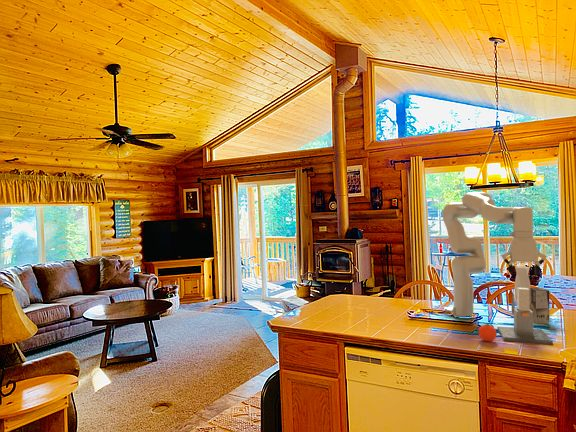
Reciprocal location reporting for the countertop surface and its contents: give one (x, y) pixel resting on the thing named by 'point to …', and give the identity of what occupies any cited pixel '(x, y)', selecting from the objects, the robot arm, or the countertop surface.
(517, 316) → the stand
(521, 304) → the column
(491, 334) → the clementine
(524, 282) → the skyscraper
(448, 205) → the robot arm
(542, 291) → the coffee box
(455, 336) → the countertop surface
